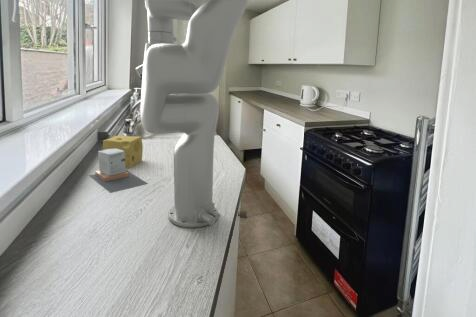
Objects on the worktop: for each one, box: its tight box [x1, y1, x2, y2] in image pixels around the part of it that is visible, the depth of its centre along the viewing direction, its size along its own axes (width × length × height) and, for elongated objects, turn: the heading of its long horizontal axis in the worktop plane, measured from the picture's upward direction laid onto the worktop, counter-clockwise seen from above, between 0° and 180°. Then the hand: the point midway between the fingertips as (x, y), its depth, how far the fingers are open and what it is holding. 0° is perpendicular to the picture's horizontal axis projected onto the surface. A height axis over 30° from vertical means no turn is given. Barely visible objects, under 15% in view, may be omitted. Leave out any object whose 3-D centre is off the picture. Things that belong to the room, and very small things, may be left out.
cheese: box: [102, 134, 144, 169], centre depth 115 cm, size 10×11×10 cm
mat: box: [88, 169, 149, 194], centre depth 99 cm, size 18×12×1 cm, turn 44°
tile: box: [94, 169, 129, 181], centre depth 102 cm, size 1×8×8 cm
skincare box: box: [97, 148, 127, 176], centre depth 101 cm, size 6×6×7 cm
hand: (162, 95), depth 98 cm, fingers open, 9 cm apart
